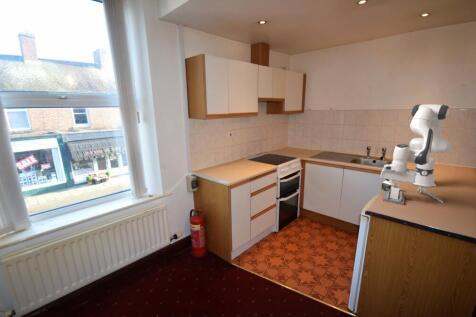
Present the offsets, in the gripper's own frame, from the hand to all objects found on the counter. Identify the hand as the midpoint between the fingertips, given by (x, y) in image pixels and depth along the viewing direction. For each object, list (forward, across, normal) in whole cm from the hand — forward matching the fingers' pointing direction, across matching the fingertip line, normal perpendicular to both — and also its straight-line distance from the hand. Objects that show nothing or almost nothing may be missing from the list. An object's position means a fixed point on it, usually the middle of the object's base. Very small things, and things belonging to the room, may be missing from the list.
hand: (395, 186), depth 160 cm
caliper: (+10, -21, -18) cm, 29 cm away
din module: (+8, 0, 0) cm, 8 cm away
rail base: (+9, 0, 0) cm, 9 cm away
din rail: (+8, 0, 0) cm, 8 cm away
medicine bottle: (+10, +4, -15) cm, 18 cm away
